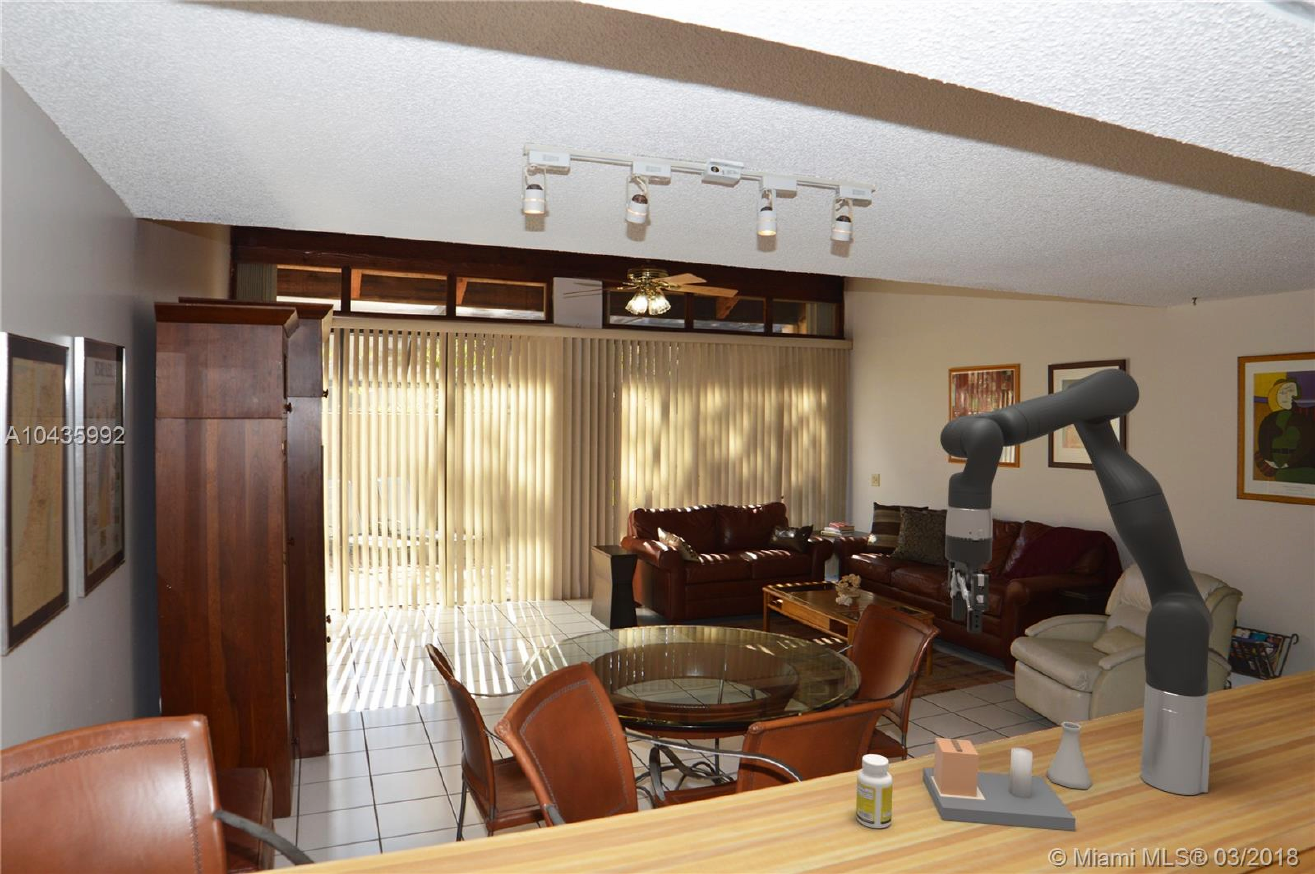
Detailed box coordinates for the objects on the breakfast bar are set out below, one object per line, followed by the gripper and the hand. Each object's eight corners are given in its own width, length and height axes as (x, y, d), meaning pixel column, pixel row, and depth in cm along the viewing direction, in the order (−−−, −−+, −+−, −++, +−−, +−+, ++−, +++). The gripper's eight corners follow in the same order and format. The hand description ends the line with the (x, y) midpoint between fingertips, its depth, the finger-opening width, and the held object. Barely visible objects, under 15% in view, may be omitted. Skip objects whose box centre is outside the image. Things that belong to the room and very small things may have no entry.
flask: (1090, 776, 143) (1093, 722, 142) (1093, 794, 136) (1096, 736, 136) (1045, 768, 146) (1048, 714, 145) (1046, 784, 139) (1049, 728, 139)
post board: (1041, 788, 138) (1044, 737, 137) (1074, 831, 124) (1077, 774, 123) (922, 778, 140) (925, 728, 139) (942, 819, 126) (944, 764, 126)
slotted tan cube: (933, 778, 136) (935, 736, 135) (967, 781, 135) (969, 738, 134) (940, 793, 130) (942, 750, 130) (976, 797, 129) (978, 753, 129)
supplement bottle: (887, 813, 128) (890, 753, 127) (894, 831, 122) (896, 768, 122) (853, 810, 128) (855, 750, 128) (858, 828, 123) (860, 765, 122)
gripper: (935, 527, 145) (932, 615, 145) (959, 539, 131) (956, 637, 131) (977, 528, 144) (974, 616, 145) (1006, 540, 130) (1003, 638, 131)
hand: (966, 626), depth 138 cm, fingers open, 8 cm apart
